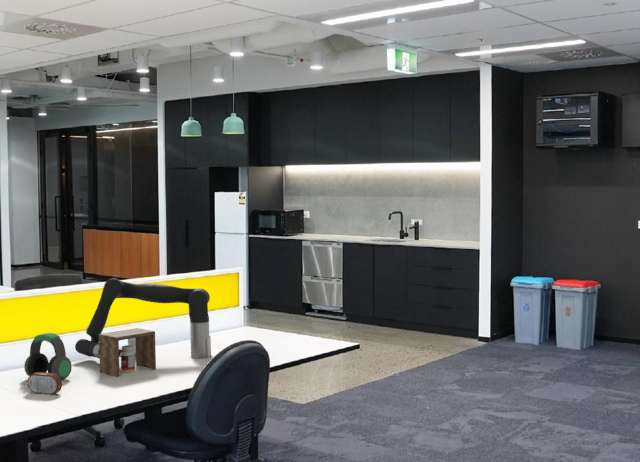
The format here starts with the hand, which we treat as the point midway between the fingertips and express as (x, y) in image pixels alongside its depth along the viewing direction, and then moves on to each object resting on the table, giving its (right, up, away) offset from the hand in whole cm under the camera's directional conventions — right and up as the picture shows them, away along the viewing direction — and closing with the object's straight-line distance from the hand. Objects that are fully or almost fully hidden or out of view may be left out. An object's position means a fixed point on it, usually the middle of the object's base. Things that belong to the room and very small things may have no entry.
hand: (124, 355), depth 366 cm
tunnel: (+2, -6, -2) cm, 7 cm away
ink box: (-1, -5, +32) cm, 32 cm away
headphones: (-29, -8, -16) cm, 34 cm away
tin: (-22, -9, -41) cm, 48 cm away
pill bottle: (+2, -7, -2) cm, 7 cm away
